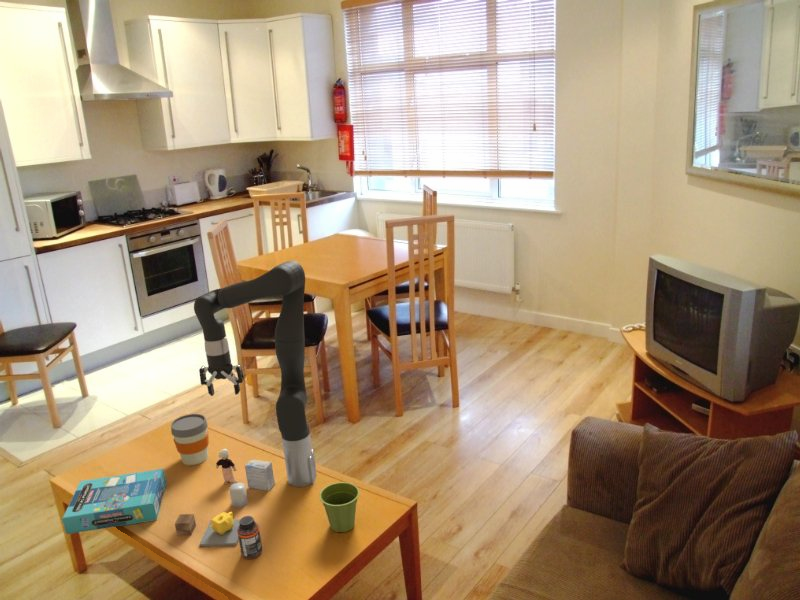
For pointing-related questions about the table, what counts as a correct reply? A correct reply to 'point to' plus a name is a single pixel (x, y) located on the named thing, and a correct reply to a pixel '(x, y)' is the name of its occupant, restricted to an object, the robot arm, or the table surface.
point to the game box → (115, 501)
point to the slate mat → (220, 536)
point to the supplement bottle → (249, 538)
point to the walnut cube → (185, 524)
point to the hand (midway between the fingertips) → (224, 394)
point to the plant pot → (340, 505)
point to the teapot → (222, 522)
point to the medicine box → (259, 475)
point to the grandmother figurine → (226, 467)
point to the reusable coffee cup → (191, 438)
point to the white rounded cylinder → (238, 495)
